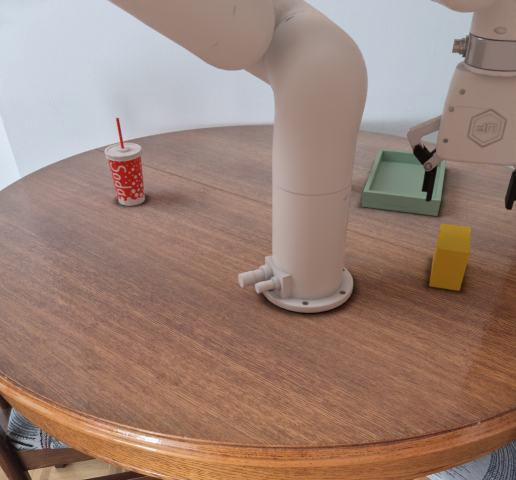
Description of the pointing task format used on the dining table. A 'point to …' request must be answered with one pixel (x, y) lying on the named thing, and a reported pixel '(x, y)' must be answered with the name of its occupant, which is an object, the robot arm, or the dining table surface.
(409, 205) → the pan
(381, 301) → the dining table surface
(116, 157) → the beverage cup
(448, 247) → the yellow rectangular block
